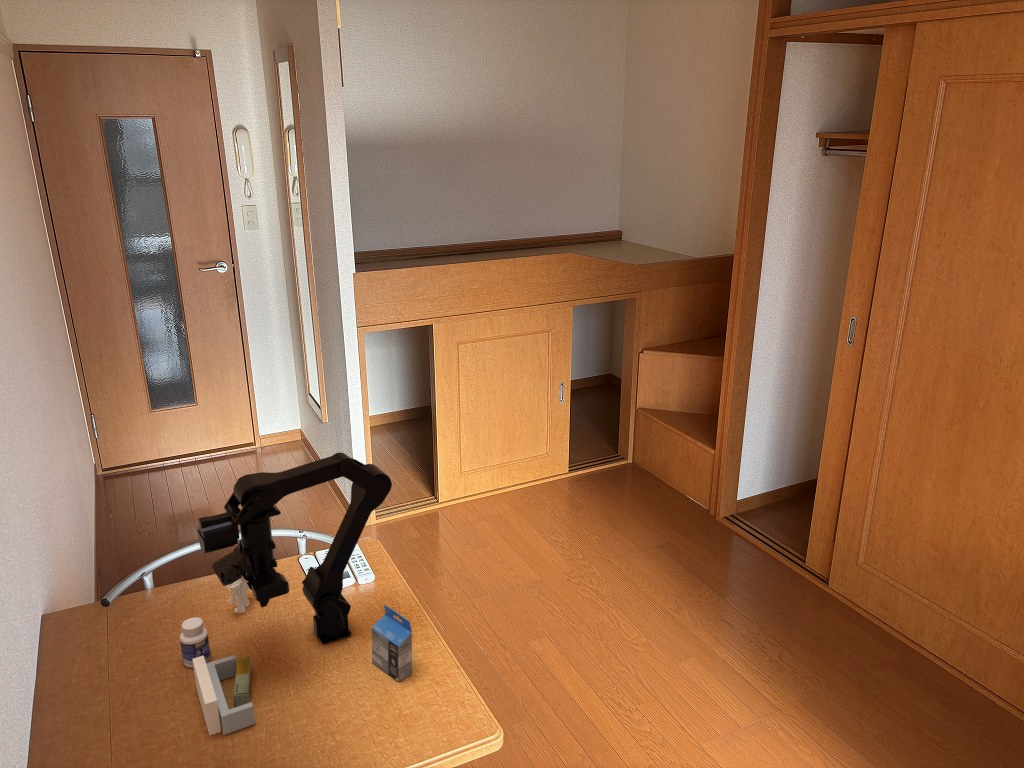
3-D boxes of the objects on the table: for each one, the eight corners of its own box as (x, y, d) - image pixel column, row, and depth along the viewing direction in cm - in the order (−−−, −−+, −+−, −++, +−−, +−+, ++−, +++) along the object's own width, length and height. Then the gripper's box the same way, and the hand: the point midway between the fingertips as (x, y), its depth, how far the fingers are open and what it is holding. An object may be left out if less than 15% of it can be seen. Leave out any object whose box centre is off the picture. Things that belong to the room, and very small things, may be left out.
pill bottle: (201, 670, 151) (196, 633, 149) (177, 666, 152) (172, 629, 150) (216, 653, 156) (211, 617, 154) (193, 649, 157) (188, 613, 155)
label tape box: (371, 662, 154) (368, 611, 151) (386, 653, 157) (384, 603, 153) (398, 683, 149) (396, 630, 145) (414, 673, 152) (412, 621, 148)
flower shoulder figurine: (241, 620, 167) (236, 573, 163) (225, 618, 168) (219, 571, 164) (259, 597, 176) (254, 551, 172) (243, 595, 176) (238, 550, 172)
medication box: (249, 712, 141) (248, 694, 140) (234, 714, 140) (232, 696, 139) (252, 670, 152) (250, 653, 151) (237, 672, 151) (236, 655, 150)
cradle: (236, 671, 151) (234, 654, 150) (255, 723, 138) (253, 706, 136) (207, 680, 148) (205, 663, 147) (223, 735, 135) (221, 717, 134)
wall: (207, 685, 147) (203, 655, 145) (221, 731, 136) (217, 700, 134) (196, 688, 146) (192, 658, 144) (209, 735, 135) (205, 704, 133)
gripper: (203, 528, 151) (211, 595, 155) (225, 572, 136) (234, 644, 141) (259, 514, 156) (265, 579, 161) (286, 555, 142) (293, 625, 146)
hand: (263, 606), depth 152 cm, fingers closed
